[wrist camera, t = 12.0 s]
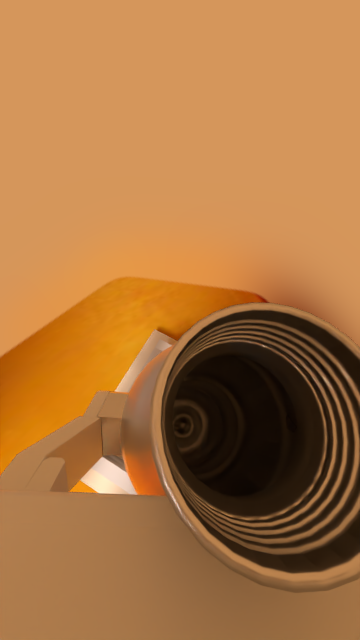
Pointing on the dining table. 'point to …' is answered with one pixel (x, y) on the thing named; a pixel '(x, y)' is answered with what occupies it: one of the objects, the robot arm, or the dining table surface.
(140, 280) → the dining table surface
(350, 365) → the plastic bottle
